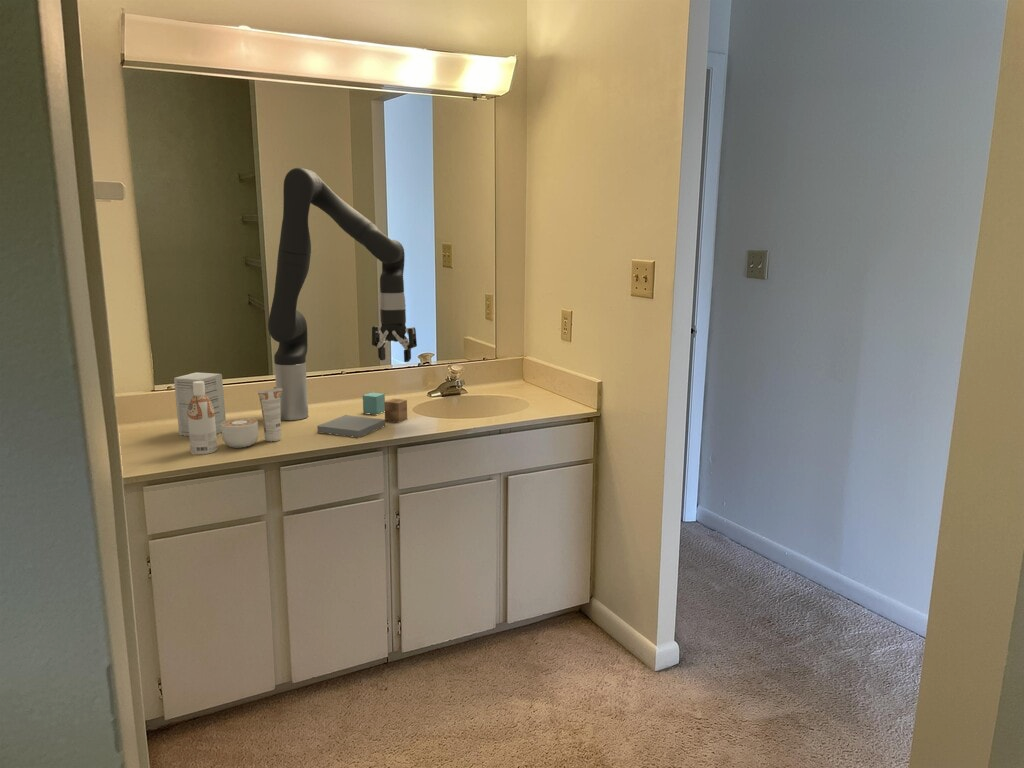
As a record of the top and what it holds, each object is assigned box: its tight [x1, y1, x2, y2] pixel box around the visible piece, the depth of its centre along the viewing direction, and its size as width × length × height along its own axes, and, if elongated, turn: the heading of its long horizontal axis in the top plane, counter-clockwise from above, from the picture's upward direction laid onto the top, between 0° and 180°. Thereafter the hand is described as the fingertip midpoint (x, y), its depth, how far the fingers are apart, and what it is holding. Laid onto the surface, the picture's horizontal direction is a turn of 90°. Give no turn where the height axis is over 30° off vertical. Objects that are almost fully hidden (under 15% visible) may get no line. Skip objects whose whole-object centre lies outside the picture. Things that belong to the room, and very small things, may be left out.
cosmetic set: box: [187, 381, 282, 455], centre depth 199 cm, size 25×9×19 cm, turn 127°
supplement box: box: [173, 372, 227, 437], centre depth 211 cm, size 10×9×17 cm
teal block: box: [362, 392, 386, 415], centre depth 237 cm, size 5×5×6 cm
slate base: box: [316, 414, 386, 438], centre depth 217 cm, size 14×14×2 cm
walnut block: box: [384, 398, 408, 423], centre depth 229 cm, size 5×5×6 cm
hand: (394, 360), depth 225 cm, fingers open, 8 cm apart
